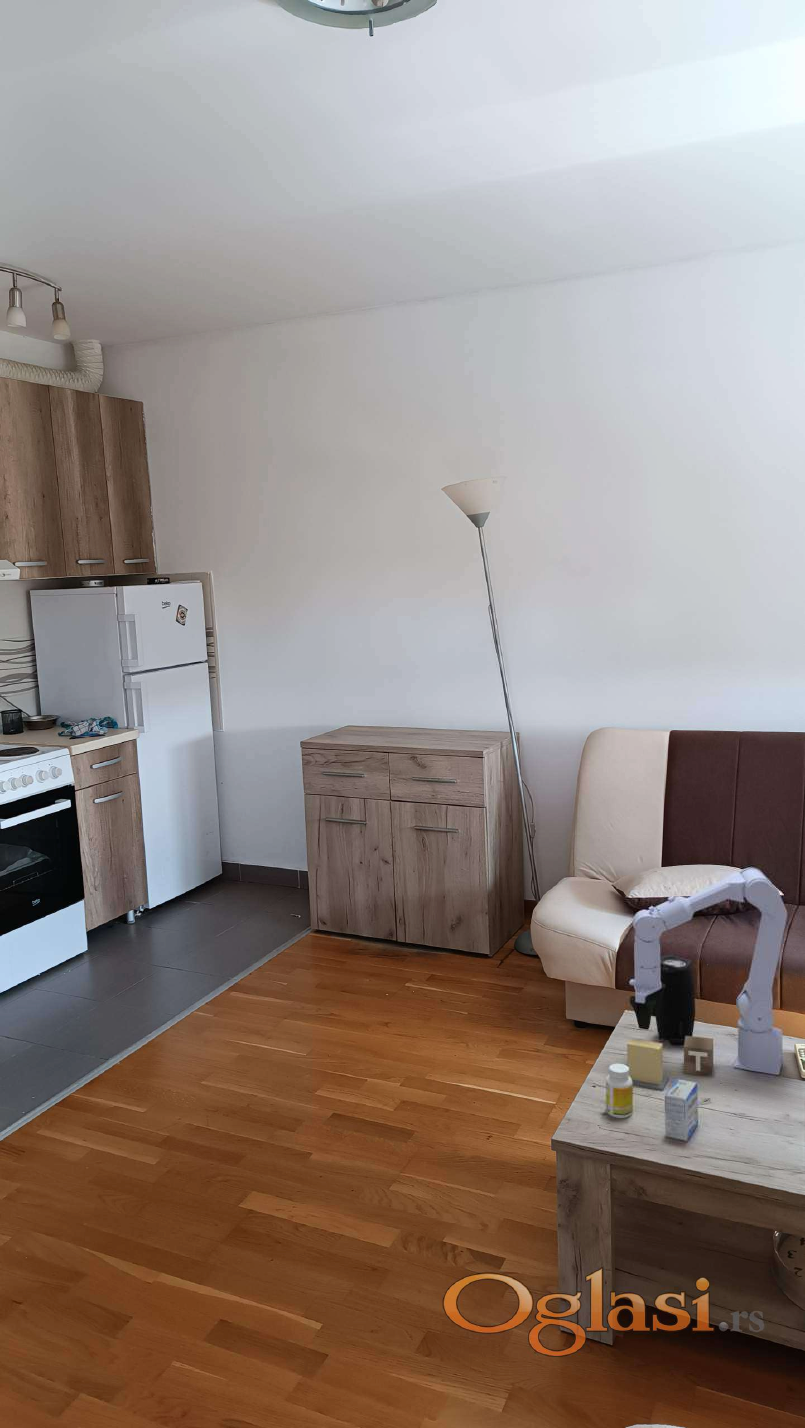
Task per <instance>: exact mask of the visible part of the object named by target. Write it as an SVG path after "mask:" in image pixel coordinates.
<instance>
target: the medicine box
mask: <svg viewBox="0 0 805 1428" xmlns="http://www.w3.org/2000/svg"><path fill="white" fill-rule="evenodd" d="M698 1089H699V1088H698V1083H696V1082H693V1081H690V1080H685V1079H678V1078H677V1079H676V1080H675V1082H673V1084H672V1085H671V1087H670V1088H669V1090H668V1091H667V1092H666V1093H665V1095H664V1129H665V1131H664V1133H665V1137H667V1138H670V1139H671V1138H672V1139H676V1140H679V1141H680V1140H681V1141H685V1142H688V1141H689V1138H690V1137H691V1136H692V1134H693V1132H694V1131H695V1129H696V1127H697V1126H698V1124H699V1103H698V1102H699V1095H698V1093H699V1092H698V1091H699V1090H698Z"/></svg>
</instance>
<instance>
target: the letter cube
mask: <svg viewBox="0 0 805 1428" xmlns="http://www.w3.org/2000/svg"><path fill="white" fill-rule="evenodd" d="M713 1071H714V1038H710V1037H700V1036H693V1035H692V1036H685V1043H684V1046H683V1074H690V1075H691V1074H692V1075H701V1076H707V1077H713V1074H714V1073H713Z"/></svg>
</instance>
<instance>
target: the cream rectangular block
mask: <svg viewBox="0 0 805 1428" xmlns="http://www.w3.org/2000/svg"><path fill="white" fill-rule="evenodd" d="M663 1046H664V1045H663V1043H660V1042H654V1041H648V1040H644V1039H643V1040H642V1039H636V1038H629V1040H628V1042H627V1044H626V1047H627V1048H626V1050H627V1051H626V1052H627V1053H626V1055H627V1056H626V1057H627V1059H626V1060H627V1066H628V1067H629V1077H630V1078H631V1079H632V1080H637V1081H642V1082H648V1083H653V1084H659V1085H660V1083H661V1082H662V1080H663V1076H664V1060H663V1059H664V1055H663V1054H664V1052H663V1051H664V1049H663Z"/></svg>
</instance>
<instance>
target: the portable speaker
mask: <svg viewBox="0 0 805 1428" xmlns="http://www.w3.org/2000/svg"><path fill="white" fill-rule="evenodd" d="M692 968H693V963H692V961H691V959H687V958H683V957H679V956H676V955H673V954H667V955H666V954H665V955H663V956H660V972H661V984H665V989H664V991H663V993H662V996H661V999H660V1004H659V1009H658V1014H657V1016H656V1017H655V1021H656V1023H655V1025H656V1030H657V1034H658V1040H660V1041H662V1040H664V1041H666V1042H668V1043H669V1044H670V1045H671V1046H673V1047H684V1043H685V1036H693V1034H694V1027H695V1021H696V1019H695V1018H696V993H695V987H696V986H695V985H696V984H695V980H694V974H693V969H692Z"/></svg>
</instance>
